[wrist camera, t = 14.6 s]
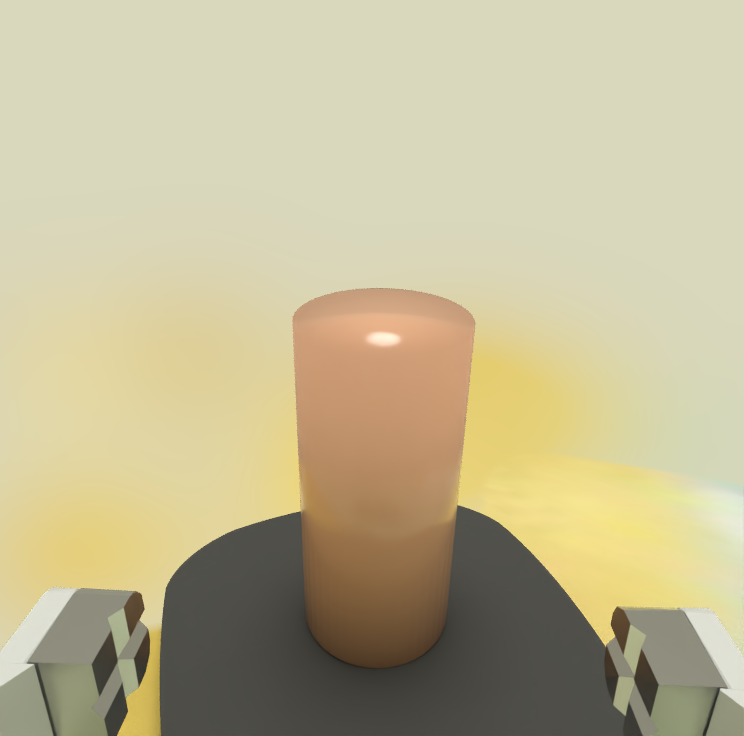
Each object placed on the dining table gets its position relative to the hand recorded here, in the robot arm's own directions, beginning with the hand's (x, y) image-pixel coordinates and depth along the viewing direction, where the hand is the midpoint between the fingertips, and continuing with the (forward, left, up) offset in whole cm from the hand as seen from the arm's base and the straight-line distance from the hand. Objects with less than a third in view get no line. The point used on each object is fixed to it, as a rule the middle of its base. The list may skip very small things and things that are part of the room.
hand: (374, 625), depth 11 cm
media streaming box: (-6, +6, -11) cm, 14 cm away
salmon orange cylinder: (-6, +6, -8) cm, 12 cm away
